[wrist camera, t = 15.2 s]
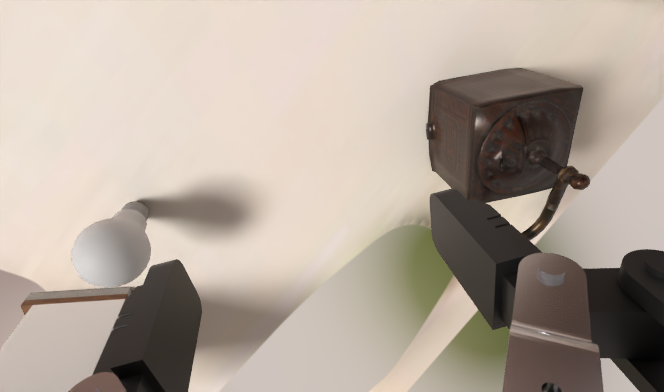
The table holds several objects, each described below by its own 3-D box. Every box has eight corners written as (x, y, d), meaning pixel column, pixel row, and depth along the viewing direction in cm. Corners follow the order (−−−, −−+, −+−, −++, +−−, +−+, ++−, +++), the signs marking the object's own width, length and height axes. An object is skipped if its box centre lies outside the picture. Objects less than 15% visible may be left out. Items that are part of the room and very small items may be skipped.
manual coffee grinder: (423, 82, 39) (533, 141, 23) (520, 65, 40) (689, 109, 24) (424, 206, 47) (507, 313, 31) (506, 189, 48) (626, 284, 32)
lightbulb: (154, 239, 42) (123, 311, 33) (97, 217, 40) (46, 287, 30) (178, 199, 40) (153, 262, 31) (120, 173, 38) (73, 233, 28)
